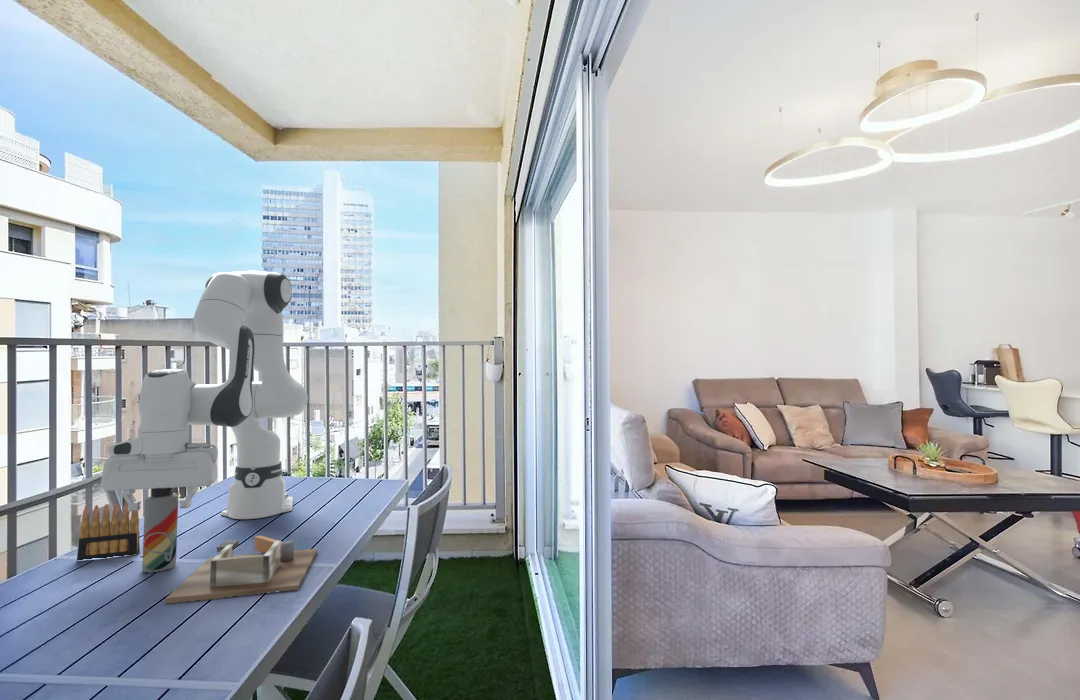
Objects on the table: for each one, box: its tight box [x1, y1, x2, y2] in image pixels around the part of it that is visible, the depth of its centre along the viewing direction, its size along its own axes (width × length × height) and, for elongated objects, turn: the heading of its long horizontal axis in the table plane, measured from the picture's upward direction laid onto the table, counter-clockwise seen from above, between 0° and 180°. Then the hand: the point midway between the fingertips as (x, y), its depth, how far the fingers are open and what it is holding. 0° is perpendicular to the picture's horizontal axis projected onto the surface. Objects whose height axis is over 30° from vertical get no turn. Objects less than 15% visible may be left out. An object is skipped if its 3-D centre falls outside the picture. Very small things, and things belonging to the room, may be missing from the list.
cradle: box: [164, 539, 318, 604], centre depth 101 cm, size 20×22×6 cm
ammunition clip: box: [76, 502, 141, 561], centre depth 110 cm, size 11×2×12 cm, turn 113°
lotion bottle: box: [141, 488, 179, 574], centre depth 105 cm, size 6×6×20 cm
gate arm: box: [254, 534, 295, 561], centre depth 109 cm, size 13×2×4 cm, turn 60°
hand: (160, 509), depth 104 cm, fingers open, 8 cm apart
